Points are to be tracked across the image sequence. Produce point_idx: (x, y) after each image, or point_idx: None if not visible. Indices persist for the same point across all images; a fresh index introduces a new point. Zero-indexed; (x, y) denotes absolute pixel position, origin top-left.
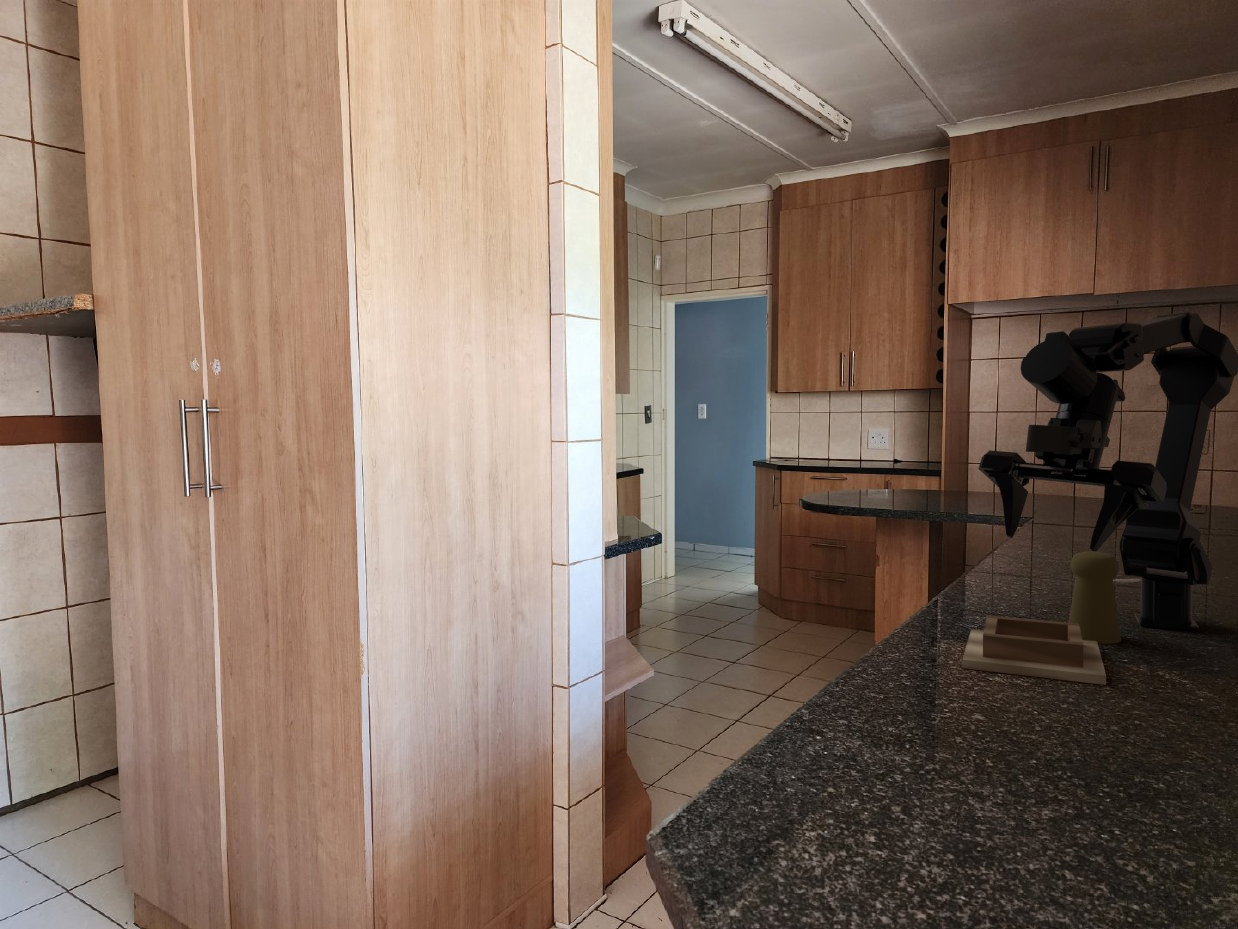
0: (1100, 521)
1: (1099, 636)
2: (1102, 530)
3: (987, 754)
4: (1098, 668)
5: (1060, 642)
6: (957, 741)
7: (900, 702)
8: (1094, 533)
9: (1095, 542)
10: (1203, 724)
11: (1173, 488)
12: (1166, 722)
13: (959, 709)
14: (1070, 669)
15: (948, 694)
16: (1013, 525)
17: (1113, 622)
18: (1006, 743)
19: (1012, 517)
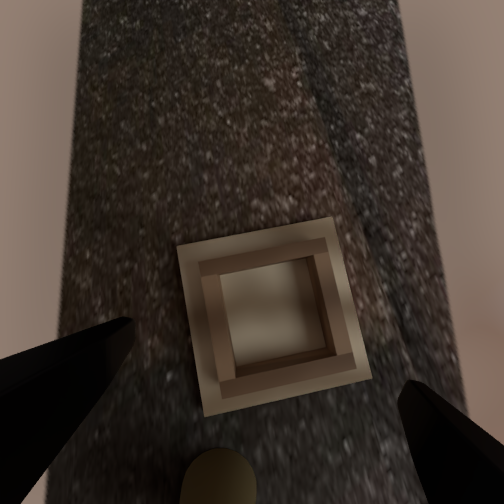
0: (24, 366)
1: (205, 460)
2: (50, 342)
3: (240, 9)
4: (187, 271)
5: (227, 259)
6: (267, 21)
7: (340, 79)
8: (91, 338)
9: (107, 324)
10: (89, 173)
11: None
12: (119, 160)
13: (289, 91)
14: (215, 247)
15: (311, 125)
16: (429, 432)
17: (183, 497)
18: (233, 37)
19: (464, 447)
